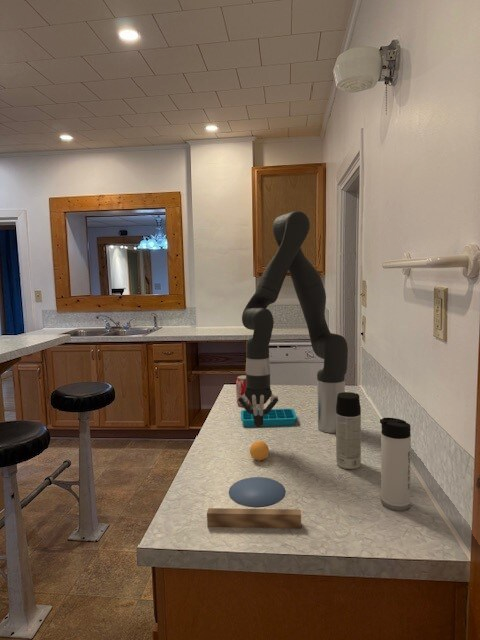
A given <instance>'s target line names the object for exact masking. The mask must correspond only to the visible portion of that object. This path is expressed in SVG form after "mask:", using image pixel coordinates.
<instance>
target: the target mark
mask: <svg viewBox="0 0 480 640" xmlns="http://www.w3.org/2000/svg"><path fill="white" fill-rule="evenodd" d="M285 494H286V488H285V487H284V485H283V484H282V483H281V482H279V481H278V480H275V479H274V478H273V479H272V478H268V477H263V476H262V477H261V476H257V477H256V476H253V477H251V476H250V477H247V478H242V479H240V480H237V481H236V482H234V483H233V484H232V485H230V487H229V489H228V495H229V498H230V499H231V500H232V501H233V502H235V503H237V504H239V505H242V506H244V507H245V506H246V507H250V508H251V507H255V508H257V507H258V508H260V507H267V506H271V505H274V504H277V503H278V502H280V501H282V499H284V497H285V496H286V495H285Z"/></svg>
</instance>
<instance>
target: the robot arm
mask: <svg viewBox="0 0 480 640" xmlns="http://www.w3.org/2000/svg"><path fill="white" fill-rule="evenodd" d="M310 227H311V223H310V220H309V217H308V216H307V214H306V213H304V212H303V211H299V210H296V211H295V210H294V211H290V212H288V213H284V214H282V215H278V216H277V217H276V218H275V219H274V221H273V223H272V233H273V237H274V239H275V241H276V243H277V246H278V249H277V250H276V253H275V254H274V256H273V257H272V259H271V260H270V261H269V263H267V265H266V267H265V269H264V271H263V272H262V273H261V274H262V275H261V277H260V278H259V282H258V284H257V287H256V290H255V292H254V294H253V295H252V296H251V297H250V299H249V301H248V302H247V304H246V305H245V307H244V309H243V312H242V314H241V322H242V325H243V326H244V327H245V328H246V329H248V330H251V331H253V334H252V338H249V339H248V340H247V341H246V347H245V348H246V354H245V355H246V358H245V361H246V362H245V375H246V390H245V394H243V395H242V396H240V397H239V399H238V401H239V402H240V403H241V405H242V406H241V407H242V408H244V410H246V411H247V412H248V413H249V414H253V415H254V425H256V426H255V427H256V428H262V426H261V425H263V415H264V414H268V413H269V412H270V411H271V409H274V407H275V405H277V403H278V402H279V396H277V395H275V394H273V391H272V390H271V361H270V342H271V339H272V335H273V329H274V324H275V321H274V320H275V319H274V316H273V313H272V312H271V311H270V309H268V306H270V305H272V304H275V303H276V302H277V300H278V297H279V294H280V292H281V289H282V286H283V283H284V282H285V278H286V275H287V274H289V276H290V278H291V279H290V280H292V281H291V282H292V285H293V288H294V291H295V294H296V297H297V300H298V302H299V305H300V308H301V311H302V314H303V317H304V321H305V323H306V326H307V327H306V328H307V331H308V334H309V339H310V344H311V348H312V350H313V353H314V355H315V356H317V357H318V358H320V359H323V368H322V369H319V370H318V371H317V373H316V382H317V384H316V387H317V390H316V391H317V395H316V396H317V429H318V430H319V431H321V432H324V433H329V434H330V433H331V434H336V404H337V396H338V394H339V393H342V392H346V391H345V390H346V389H345V387H346V384H345V380H346V379H345V377H346V374H347V371H348V353H349V348H348V343H347V340H346V338H345V337H344V336H343V335H341V334H338V333H337V334H336V333H333V332H332V333H331V331H330V329H329V326H328V323H327V320H326V315H325V313H326V305H327V304H326V303H327V293H326V290H325V286H324V283H323V280H322V278H321V276H320V275H321V274H320V273H319V272H318V270H317V269H316V268H315V267H314V266H313V264H312V263H311V262H310V261H309V260H308V258H307V257H306V256H305V254H304V252H303V250H302V245H303V244H304V243H305V240H306V239H307V237H308V234H309V232H310ZM246 397H247V398H248V400H249V401H250V402H251V403H252V404H251V405H252V407H251V405H249V404H248V403H247V402H246V400H247V399H246ZM269 400H270V403H268V405H267V406H266V407H264V405H265V404H267V402H268V401H269ZM258 405H259V408H258ZM258 410H259V414H258Z"/></svg>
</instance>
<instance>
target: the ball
mask: <svg viewBox="0 0 480 640" xmlns="http://www.w3.org/2000/svg"><path fill="white" fill-rule="evenodd" d="M269 452H270V449H269V446H268V444H267V443H266V442H264V441H262V440H257V441H254V442H252V444H251V445H250V447H249V454H250V456H251V458H253V460H256V461H260V462H261V461H264V460H265V459H266V458H267V457H268V456H269V454H270V453H269Z"/></svg>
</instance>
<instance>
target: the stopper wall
mask: <svg viewBox="0 0 480 640" xmlns="http://www.w3.org/2000/svg"><path fill="white" fill-rule="evenodd" d="M206 521H207V522H206V524H207V525H206V526H207V527H210V528H211V527H213V528H219V527H221V528H259V529H261V528H263V529H264V528H265V529H266V528H267V529H268V528H269V529H271V528H272V529H273V528H274V529H302V512H301V509H299V508H297V509H294V508H292V509H291V508H290V509H287V508H227V507H226V508H224V507H223V508H221V507H219V508H217V507H216V508H213V507H212V508H211V507H210V508H209V507H208V508H207V512H206Z"/></svg>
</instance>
